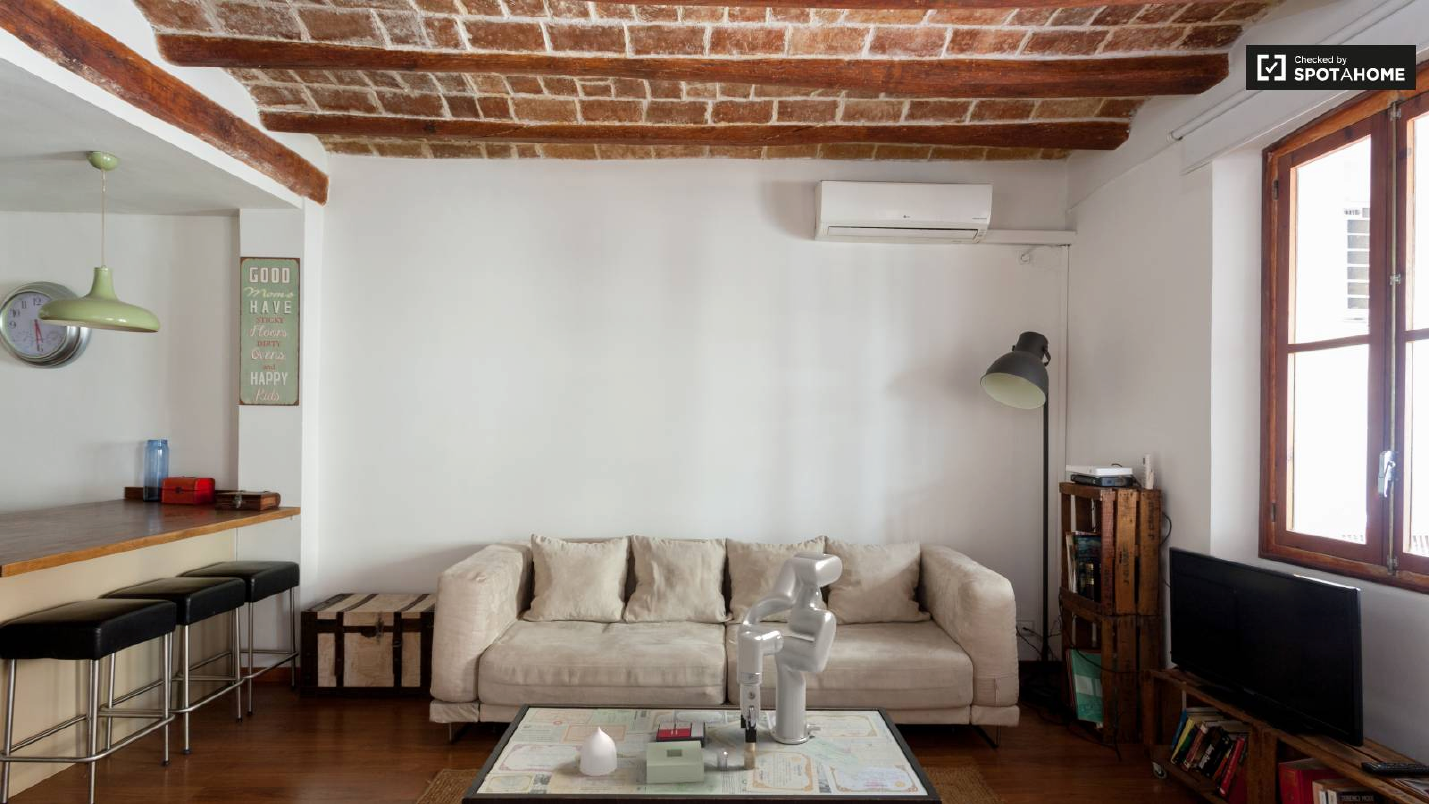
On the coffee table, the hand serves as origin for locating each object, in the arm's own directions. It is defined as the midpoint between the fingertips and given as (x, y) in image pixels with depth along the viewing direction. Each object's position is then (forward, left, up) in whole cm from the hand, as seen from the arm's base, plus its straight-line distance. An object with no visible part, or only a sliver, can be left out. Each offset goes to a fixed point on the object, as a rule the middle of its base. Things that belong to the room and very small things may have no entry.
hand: (748, 735), depth 213 cm
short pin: (+7, -1, -10) cm, 12 cm away
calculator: (+18, -20, -10) cm, 29 cm away
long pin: (-1, -1, -10) cm, 10 cm away
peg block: (+21, -1, -10) cm, 24 cm away
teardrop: (+43, -5, -10) cm, 45 cm away
